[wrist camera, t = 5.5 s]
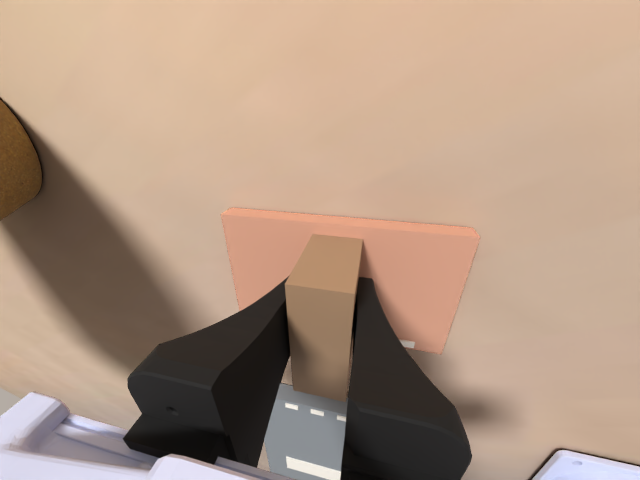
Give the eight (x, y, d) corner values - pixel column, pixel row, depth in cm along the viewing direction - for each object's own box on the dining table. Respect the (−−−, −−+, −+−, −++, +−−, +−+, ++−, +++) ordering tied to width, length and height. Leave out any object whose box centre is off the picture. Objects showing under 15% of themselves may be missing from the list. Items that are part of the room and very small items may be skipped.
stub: (472, 227, 11) (529, 301, 7) (437, 339, 15) (461, 436, 10) (231, 207, 14) (160, 253, 9) (248, 308, 17) (202, 377, 13)
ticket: (414, 413, 18) (416, 433, 17) (389, 493, 25) (389, 511, 24) (261, 379, 21) (254, 394, 19) (275, 460, 27) (270, 475, 26)
